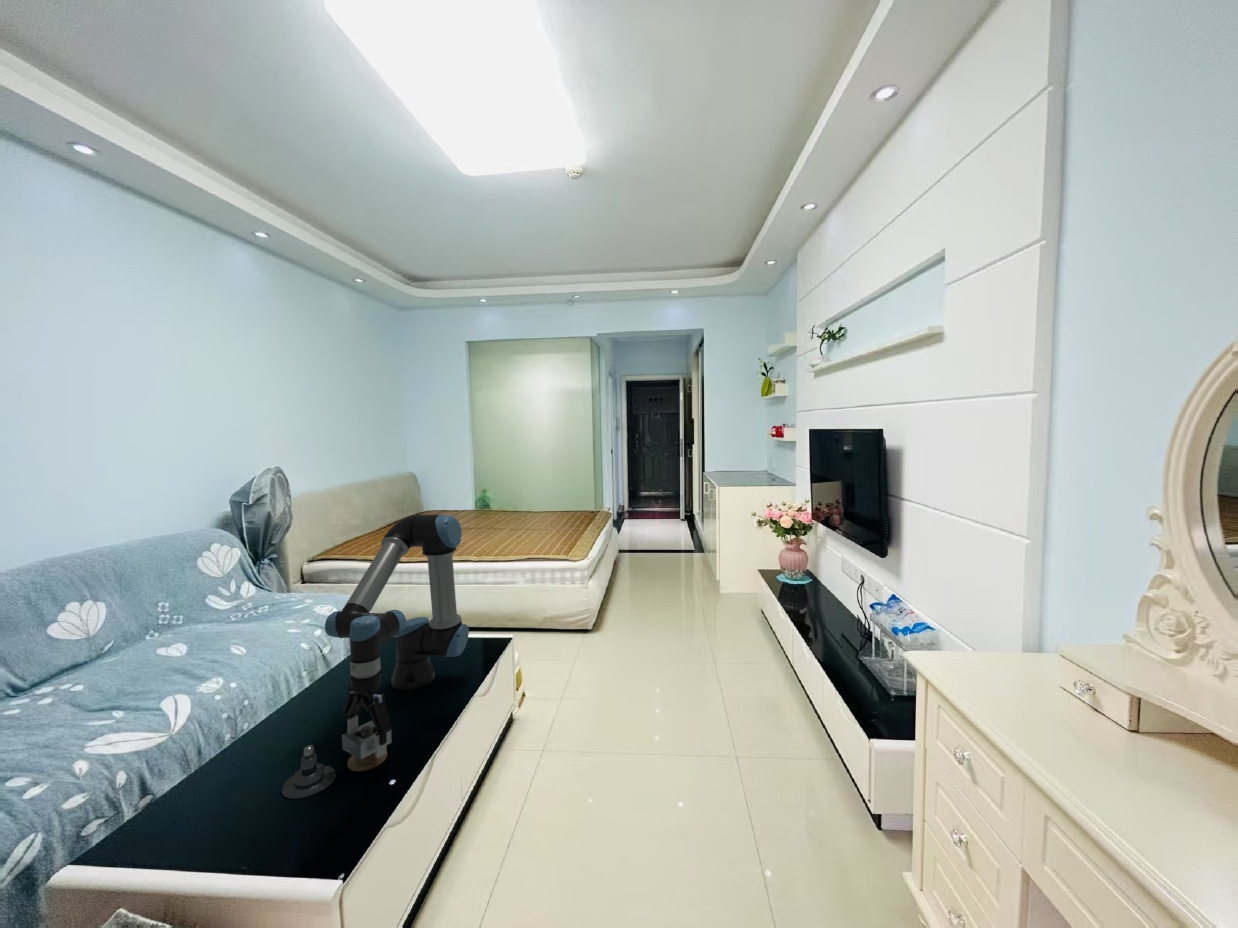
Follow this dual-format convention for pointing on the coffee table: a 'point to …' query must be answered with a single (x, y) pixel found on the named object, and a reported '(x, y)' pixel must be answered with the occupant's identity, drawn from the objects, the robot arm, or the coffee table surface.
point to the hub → (308, 777)
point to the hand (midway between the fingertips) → (366, 747)
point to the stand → (368, 761)
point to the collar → (361, 742)
